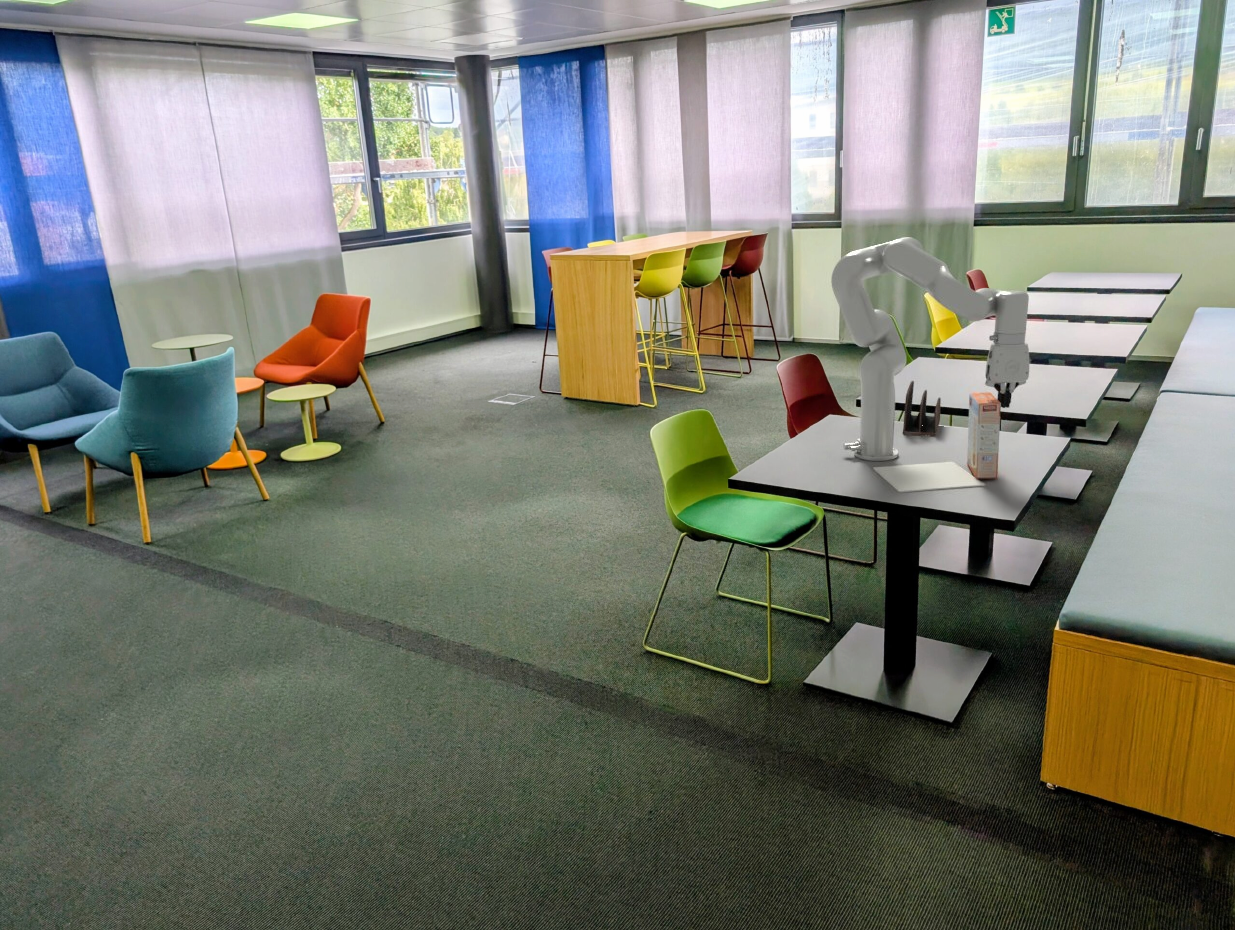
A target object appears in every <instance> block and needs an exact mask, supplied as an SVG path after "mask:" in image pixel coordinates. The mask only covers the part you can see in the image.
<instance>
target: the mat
mask: <svg viewBox="0 0 1235 930" xmlns="http://www.w3.org/2000/svg"><path fill="white" fill-rule="evenodd" d="M873 470H874V471H875V472H876V473H877V474H878V475H880V477H882V478H883V479H884V480H885V481H886V482H887V483H888V484H889V485H890V486H892V488H893V489H894V490H896V492H898V493H911V492H924V491H938V490H950V489H962V488H976V487H978V488H979V487H985V486H986V484H985V483H983V482H982V481H980V480H979V478H975V476H974V475H972V474H971V473H969V472H968V471H967V470H965V469H964V468H962V467H960V465H959V464H957V463H955V462H954V461H945V462H931V463H915V464H903V465H902V464H901V465H892V466H891V465H890V466H887V465H886V466H876V467H875V466H874V467H873Z"/></svg>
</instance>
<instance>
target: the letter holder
mask: <svg viewBox="0 0 1235 930" xmlns="http://www.w3.org/2000/svg"><path fill="white" fill-rule="evenodd" d="M914 385H915V381H914V380H912V381H910V383H909V385H908V388H907V390H906V391H907V392H906V395H905V403H904V414H903V426H902V427H903V430H902V435H905V434H911V435H910V436H921V435H924V437H925V435H927V436H926V437H936V436H937V432H938V429H939V425H940V422H941V404H942V403H941V397H938V398H937V401H936V404H935V410H934V412H933V413H934V415H933V416H932V415H931V416H930V415H927V397H928V390H927V389H925V390H924V391H923V394H922V396H921V400H920V404H919V412H918V413H917V414H916V415H913V414H912V412H913V411H912V410H913V409H912V407H913V398H914V397H913V396H914V387H915V386H914ZM922 425H923V426H922ZM928 435H930V436H928Z"/></svg>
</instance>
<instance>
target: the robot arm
mask: <svg viewBox="0 0 1235 930" xmlns="http://www.w3.org/2000/svg"><path fill="white" fill-rule="evenodd" d="M923 247H924V246H923V245H922V244H921V242H920V241H919V240H918V239H916V238H915V237H914V238H913V237H910V236H909V237H908V236H905V237H900V238H897V239H894V240H892V241H889V242H888V241H887V242H885V243H882V244H877V245H873V246H869V247H864V248H861V249H857V250H852V251H850V252H849V253H847V254H845V255H843V256H842V258H840V259H839V260H838V262H837V263H836V264H835V266H834V268H833V270H832V274H831V287H832V292H833V294H834V297H835V299H836V301H837V304H838V306H839V308H840V312H841V314H842V317H843V320H844V323H845V325H846V328H847V329H848V332H849V336H850V338H851V340H852V341H853V344H855V345H857V347H860V348H868V347H869V350H870V351H869V352H868V353H866V355H864V356H863V358H862V359H861V362H860V365H859V378H860V379H859V380H860V390H861V391H860V431H859V433H860V435H859V438H856V441H854V442H847V443H846V442H845V443H843V444H842V445H843V450H844V451H846V450H850V451H851V452H853V455H854V456H855V457H856V458H858V459H861V460H865V461H872V462H883V461H892V460H894V459H897V458H898V457H899V450H898V449H897V448H894V440H895V439H894V438H895V437H894V436H895V435H894V434H895V418H896V417H895V416H896V413H895V412H896V387H895V376H897V375H899V374H900V373H902V371H903V370H904V369H905V367H906V365H907V360H908V359H907V353H906V350H905V347H904V345H903V342H902V339H901V337H900V335H899V332H898V330H897V327H896V325H895V322H894V320H893V319H892V317H891V315H889V314H888V313H887V312H886V311H884V310H881V309H875V308H874V307H873V304H872V301H871V298H870V296H869V294H868V292H867V291H866V289H865V288H864V286H863V281H864V280H867V279H868V280H869V279H870V278H875V277H877V276H880V275H885V274H890V273H895V274H897V275H899V276H901V277H902V278H904V279H906V280H907V281H909V282H911V283H913V284H914V285H916V286H917V287H919V288H920V289H923V291H924V290H925V292H927V293H928V295H930V296H931V298H933V299H934V300H935V301H936V302H937V303H938V304H940V305H941V306H943V307H944V308H945V309H947V310H949V311H950V312H952V313H954V314H956V315H957V316H958V317H961V318H962V319H964V320H965V321H966V320H967V321H970V322H980V321H983V320H984V319H986V318H989V317H992V316H995V320H994V323H995V324H994V332H993V334H992V335H989V341H992V342H993V343H991V344H990V347H989V351H988V355H987V359H986V365H985V379H986V380H985V383H984V385H985V386H987V387H991V388H994V389H995V390H996V392H997V398H996V399H997V400H998V401H999V402H1000V403H1001V408H1002V409H1008V408H1010V407H1011V406H1010V404H1011V403H1012V394H1013V393H1014V392H1015V390H1016V388H1018V387H1019V386H1022V385H1025V384H1026V383H1027V380H1028V379H1029V378H1030V350H1029V344H1028V343H1026V332H1027V322H1028V312H1029V311H1028V310H1029V300H1030V299H1029V294H1028V293H1027V292H1026V291H1024V290H1018V289H1017V290H1016V289H1015V290H1012V289H1011V290H1001V289H997V288H996V289H995V288H989V287H988V288H987V287H983V288H979V289H977V290H974V289H972V288H970V287H968V286H966V285H965V284H963V283H962V282H961V281H959V280H958V279H956V278H955V277H954V276H953V275H952V274H951V272H950V270H949V267H948V265H947V264H946V262H944V261H942V260H941V259H939V258H937V257H935V256H933V255H931V254H930V253H928V252H926V251H925V250H924V248H923Z"/></svg>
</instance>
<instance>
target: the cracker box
mask: <svg viewBox="0 0 1235 930" xmlns="http://www.w3.org/2000/svg"><path fill="white" fill-rule="evenodd" d="M968 402H969V404H968V431H967V432H968V435H967V461H966V464H967V467H968V468H969V470H970V472H971V473H972V474H973V476H974V477H975V478H976V479H998V471H999V451H1000V450H999V449H1000V447H999V446H1000V425H1001V408H1002V407H1001V403H1000V402H999V401H998V400H997V398H996V397H995V396H994V395H993V393H991V392H987V391H986V392H985V391H984V392H969V400H968Z"/></svg>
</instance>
